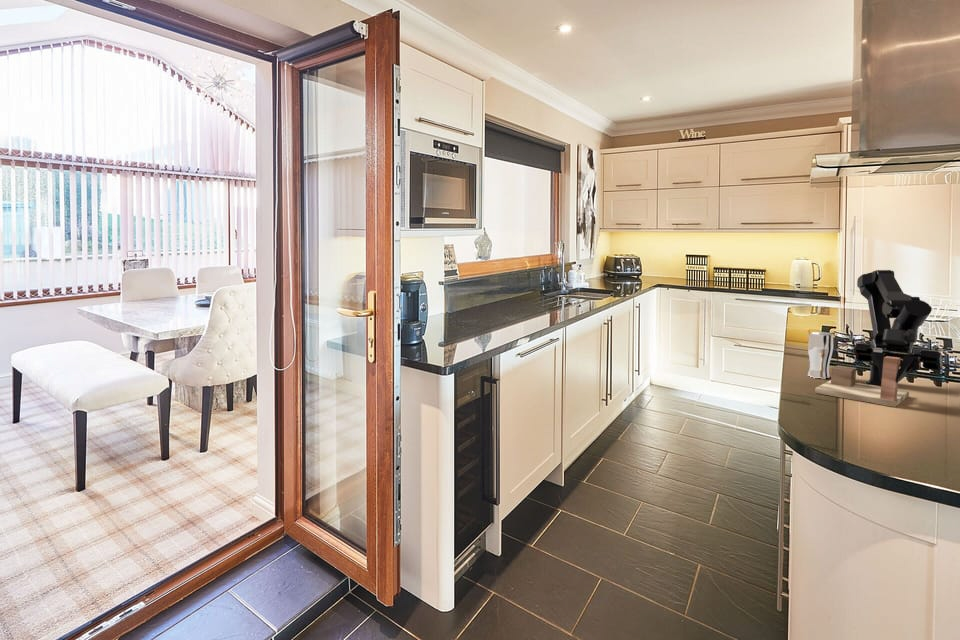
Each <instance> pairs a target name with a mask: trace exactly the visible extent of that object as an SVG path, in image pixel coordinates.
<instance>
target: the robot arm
mask: <svg viewBox="0 0 960 640" xmlns="http://www.w3.org/2000/svg"><path fill="white" fill-rule="evenodd" d="M856 285H857V288H858V289H859V292H860V295H861V296H863V298H864V299H866V300H867V303H868V309H869V316H870V321H871V322H870V323H871V328H872V334H873V335H872V336H873V339H872V340H871V342H870V343H865V342H857V343H856V344H854V347H853V349H852V350H853V352H854V357H855V360H857V361H858V362H859V361H860V362H864V363H865V364H866V365H868V366H870V373H869V379H868V380H866V381H865V384H867V385H874V386H881V383H882V371H883V360H884V357H886V356H889V357H898V358H900V368H899V371H898V374H897V376H896V383H898V384H899V382H901V381H902V379H904V378H905V377H907V376H908V375H909V374H911V373H912V372H914V371H919V370H920V369H921V366H920V365H921V364H922V367H923V368H924V369H925V370H930V371H938V372H939V371H941V370H942V367H943V355H942V352H941V351H939V350H933V349H932V350H931V349H926V348H924V349H923V348H922V349H921V350H920V354H919V353H915V352H914V353H913V352H912V351H913V349H914V344H915V343H917V342H918V334H919V333H918V332H919V331H918V330H919V327H921V326H922V325H923V324H924V323H925V321H926V320H927V318H928V317H929V315H930V314H931V313H932V310H933V308H932V306H931V305H930V304H929V303H928V302H926V301H924V300H921V299H920V297H919V296H912V295H911V294H910V295H909V294H907V293H904V292H903V289H902V288H901V286H900V284H899V283H898V281H897V279H896V277H895V271H894V270H891V269H876V270H873V271H872V272H867V273H863V274H861V275H860V276H859V277H857V281H856ZM890 319H894V320H893V323H892V325H891V320H890Z"/></svg>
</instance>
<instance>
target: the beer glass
mask: <svg viewBox="0 0 960 640" xmlns="http://www.w3.org/2000/svg"><path fill="white" fill-rule="evenodd" d="M807 346H808V347H807V352H808V358H809V359H808V360H809V369H808V372H807V377H808V376H810V377H809V378H811V377H813V378H812V379H815V378H821V379H820V380H827V379H826V378H829V379H830V372H829V371H830V369H829V368H830V362H831V360H832V355H833V352H834V333H831V332H828V331H827V332H826V331H825V332H824V331H811V332H809V337H808V344H807Z"/></svg>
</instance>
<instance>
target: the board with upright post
mask: <svg viewBox="0 0 960 640" xmlns="http://www.w3.org/2000/svg"><path fill="white" fill-rule="evenodd" d="M899 369H900V358H898V357H889V356H886V357H884V360H883V371H882V383H881V385H874V384H867V383H865V384H864V383H860V382H855V384H854V385H853V386H851V387H847V386H841V385H835V384H831V379H830V380H828V381H826V382H824V383H823V384H820V385H818V386H817V387H815V388H814V393H815V394H818V395H819V394H820V395H824V396H831V397H837V398H841V399H849V400H852V401H859V402H865V403H870V402H871V404H877V405H883V406H888V407H896V408H897V406H899V404H901V403H902V402H903V401H904V400H906V399H907V398H909V394H910V390H904V389H899V382H898V383H896V376H897V374H898V371H899Z"/></svg>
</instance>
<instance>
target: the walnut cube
mask: <svg viewBox="0 0 960 640" xmlns="http://www.w3.org/2000/svg"><path fill="white" fill-rule="evenodd" d="M856 379H857V367H851V366H844V365H834V366H833V367H832V368H831V375H830V380H831V384H835V385H841V386H847V387H851V386H853V385H854V384H855V383H856Z"/></svg>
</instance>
